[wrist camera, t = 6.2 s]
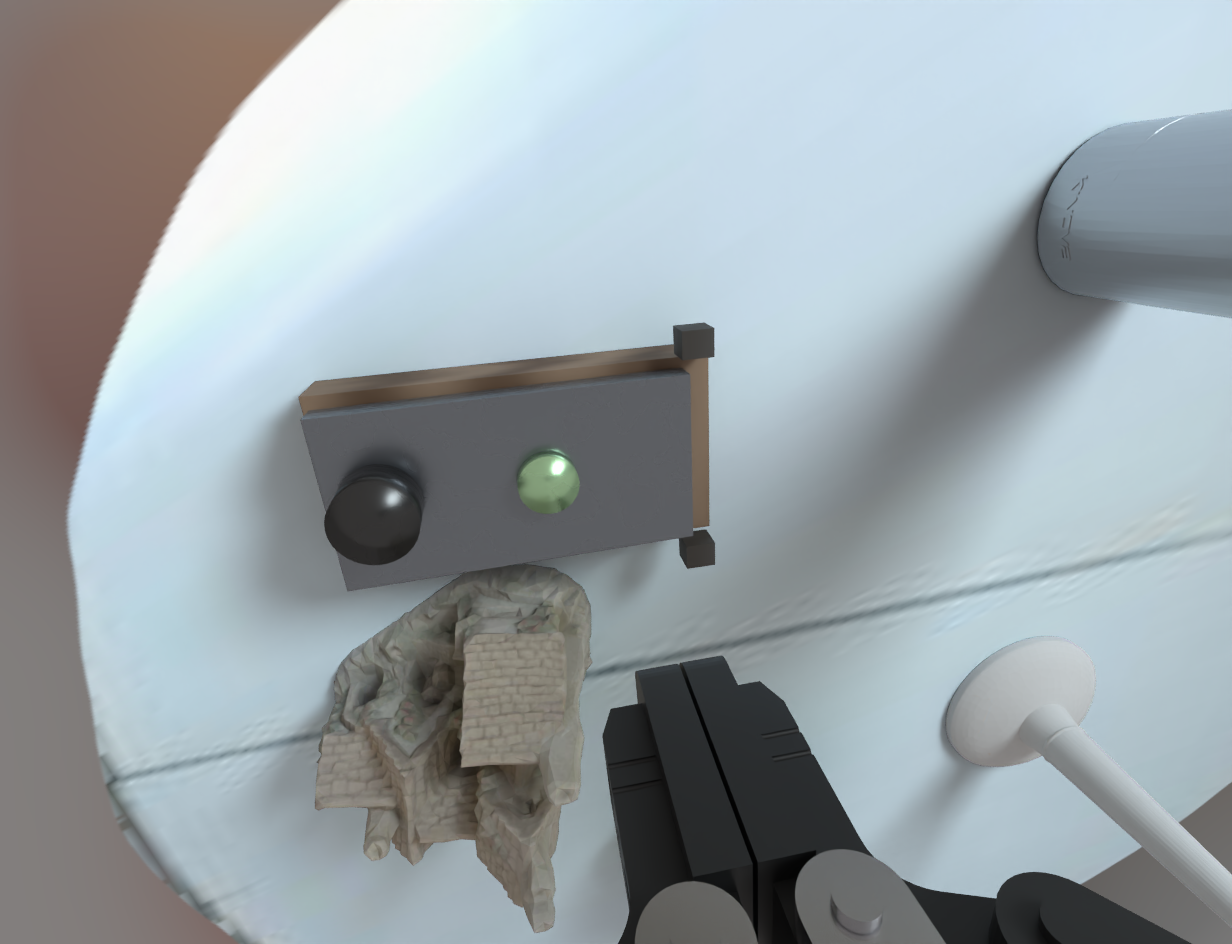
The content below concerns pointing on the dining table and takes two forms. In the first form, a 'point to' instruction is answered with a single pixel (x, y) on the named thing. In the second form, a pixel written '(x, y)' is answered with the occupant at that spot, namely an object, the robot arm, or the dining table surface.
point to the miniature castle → (467, 726)
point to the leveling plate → (503, 475)
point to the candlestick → (1071, 750)
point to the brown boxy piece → (686, 353)
